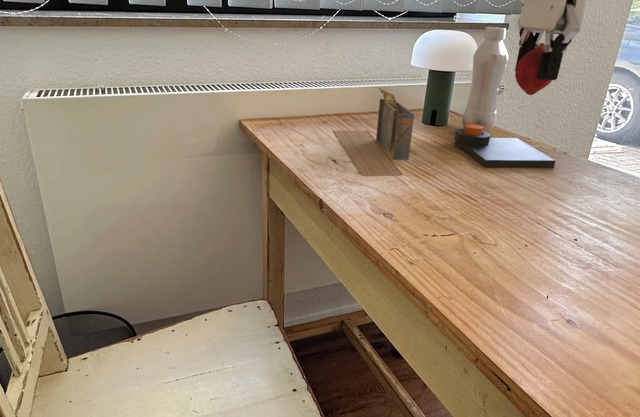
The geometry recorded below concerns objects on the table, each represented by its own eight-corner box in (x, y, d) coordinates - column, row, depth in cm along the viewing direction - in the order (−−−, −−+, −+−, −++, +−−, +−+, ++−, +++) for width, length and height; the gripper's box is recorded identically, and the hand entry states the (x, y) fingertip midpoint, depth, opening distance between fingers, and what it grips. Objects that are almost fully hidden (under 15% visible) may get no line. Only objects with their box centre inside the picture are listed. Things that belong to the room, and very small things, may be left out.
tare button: (477, 132, 89) (478, 124, 88) (484, 137, 86) (485, 128, 86) (461, 132, 89) (462, 123, 88) (468, 137, 86) (469, 128, 85)
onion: (542, 100, 75) (554, 45, 72) (505, 94, 79) (515, 41, 75) (553, 95, 79) (566, 43, 76) (518, 90, 83) (528, 40, 79)
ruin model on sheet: (332, 130, 96) (335, 79, 92) (413, 131, 98) (419, 81, 94) (361, 175, 73) (366, 110, 69) (464, 174, 76) (475, 112, 72)
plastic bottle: (485, 128, 103) (505, 27, 95) (498, 137, 97) (520, 30, 88) (455, 127, 102) (472, 25, 94) (466, 136, 96) (485, 28, 88)
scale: (514, 144, 93) (517, 129, 91) (553, 168, 80) (558, 151, 79) (448, 143, 91) (451, 128, 90) (478, 168, 79) (482, 150, 78)
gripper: (628, -56, 63) (590, 86, 70) (554, -48, 79) (529, 68, 86) (574, -60, 62) (541, 85, 69) (510, -51, 78) (488, 67, 85)
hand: (535, 74), depth 78 cm, fingers closed on onion, 5 cm apart
